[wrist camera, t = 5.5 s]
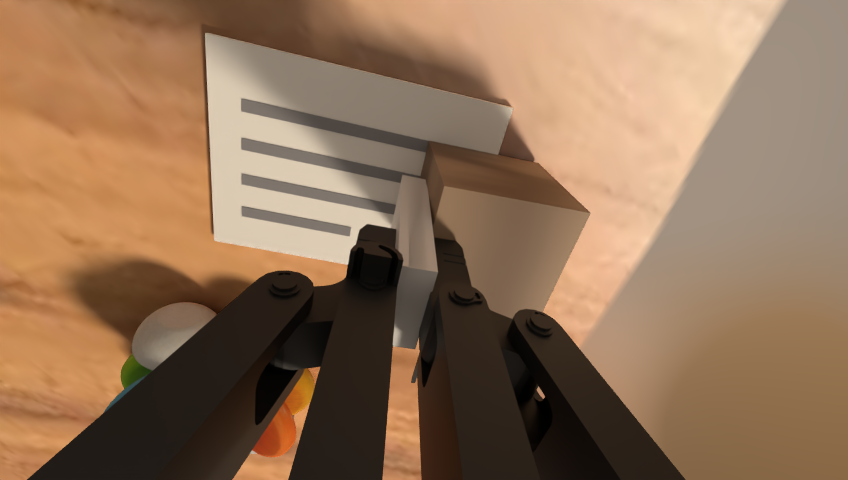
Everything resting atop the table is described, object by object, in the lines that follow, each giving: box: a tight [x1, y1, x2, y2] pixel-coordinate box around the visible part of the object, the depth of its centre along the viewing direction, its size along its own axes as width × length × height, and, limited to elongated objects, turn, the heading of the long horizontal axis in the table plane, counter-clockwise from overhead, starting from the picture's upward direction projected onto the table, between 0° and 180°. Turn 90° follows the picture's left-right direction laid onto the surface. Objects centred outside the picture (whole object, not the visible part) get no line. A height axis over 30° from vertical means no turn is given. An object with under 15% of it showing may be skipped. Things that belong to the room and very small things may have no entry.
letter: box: [205, 33, 513, 265], centre depth 17 cm, size 12×9×1 cm
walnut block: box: [420, 141, 590, 319], centre depth 15 cm, size 5×5×5 cm
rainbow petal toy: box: [105, 302, 314, 457], centre depth 19 cm, size 8×10×7 cm
